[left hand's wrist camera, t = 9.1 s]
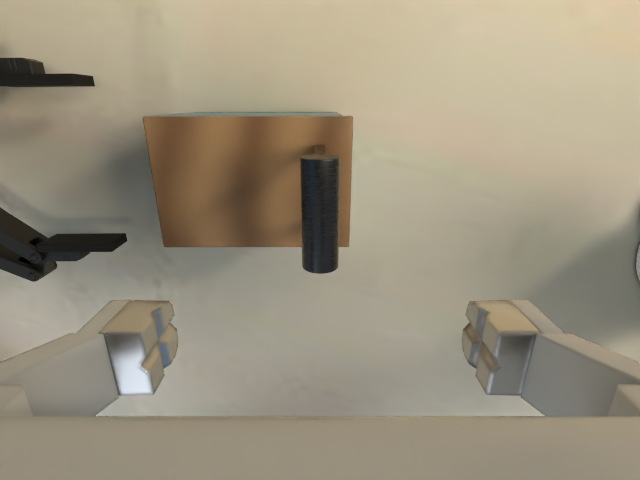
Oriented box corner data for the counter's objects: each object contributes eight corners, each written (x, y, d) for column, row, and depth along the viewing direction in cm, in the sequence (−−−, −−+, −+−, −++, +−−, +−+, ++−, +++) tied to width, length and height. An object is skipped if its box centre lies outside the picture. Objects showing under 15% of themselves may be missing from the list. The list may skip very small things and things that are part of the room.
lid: (352, 115, 25) (368, 122, 17) (348, 242, 29) (360, 301, 20) (148, 116, 25) (62, 122, 17) (168, 243, 29) (105, 301, 20)
